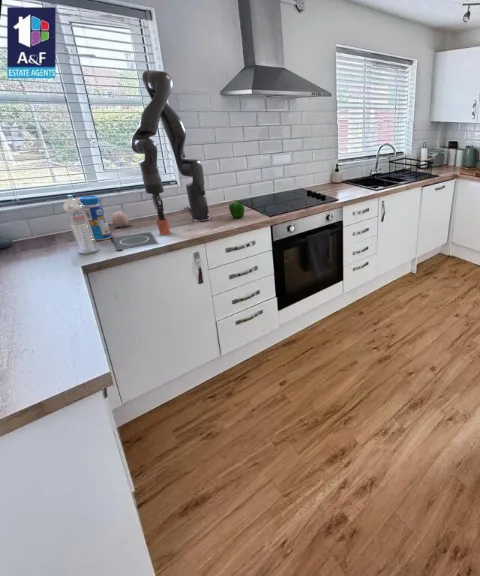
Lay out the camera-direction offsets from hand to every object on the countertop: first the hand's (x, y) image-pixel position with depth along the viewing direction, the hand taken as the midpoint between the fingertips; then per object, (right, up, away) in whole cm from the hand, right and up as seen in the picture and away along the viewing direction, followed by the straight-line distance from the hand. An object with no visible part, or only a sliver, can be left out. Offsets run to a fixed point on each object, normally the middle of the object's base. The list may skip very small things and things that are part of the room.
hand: (161, 217), depth 184 cm
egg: (-28, -3, +12) cm, 31 cm away
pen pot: (0, -8, +4) cm, 9 cm away
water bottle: (-20, -19, -20) cm, 34 cm away
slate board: (-9, -13, -7) cm, 17 cm away
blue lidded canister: (-27, -11, -4) cm, 29 cm away
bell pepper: (+25, +10, +33) cm, 43 cm away
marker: (0, -7, +4) cm, 8 cm away
